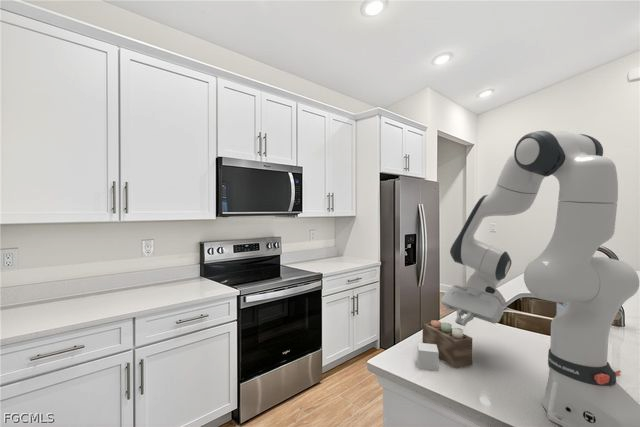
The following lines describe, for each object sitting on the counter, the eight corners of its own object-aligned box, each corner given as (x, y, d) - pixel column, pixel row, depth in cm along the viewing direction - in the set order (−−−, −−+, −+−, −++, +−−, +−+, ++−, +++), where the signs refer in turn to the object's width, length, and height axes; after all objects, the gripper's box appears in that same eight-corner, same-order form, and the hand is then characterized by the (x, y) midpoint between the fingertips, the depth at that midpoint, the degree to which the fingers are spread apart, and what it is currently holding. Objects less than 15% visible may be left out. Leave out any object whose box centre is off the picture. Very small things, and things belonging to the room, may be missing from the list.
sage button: (453, 332, 108) (453, 325, 108) (445, 333, 107) (445, 326, 107) (446, 328, 112) (446, 322, 112) (438, 330, 111) (438, 323, 110)
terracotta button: (442, 329, 113) (443, 322, 113) (435, 330, 112) (435, 324, 112) (436, 326, 117) (436, 319, 117) (428, 327, 115) (428, 320, 115)
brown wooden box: (472, 365, 103) (472, 338, 103) (455, 368, 101) (455, 341, 101) (437, 345, 118) (438, 321, 118) (422, 347, 116) (422, 323, 116)
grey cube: (417, 360, 107) (417, 342, 107) (436, 362, 105) (436, 344, 105) (418, 368, 101) (418, 350, 101) (438, 371, 100) (438, 352, 99)
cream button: (465, 338, 104) (465, 331, 104) (457, 339, 102) (457, 332, 102) (457, 334, 107) (457, 327, 107) (449, 335, 106) (449, 328, 106)
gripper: (448, 279, 118) (430, 309, 113) (503, 292, 100) (484, 328, 96) (456, 289, 120) (438, 319, 116) (511, 304, 103) (492, 340, 98)
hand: (459, 323), depth 105 cm, fingers closed
